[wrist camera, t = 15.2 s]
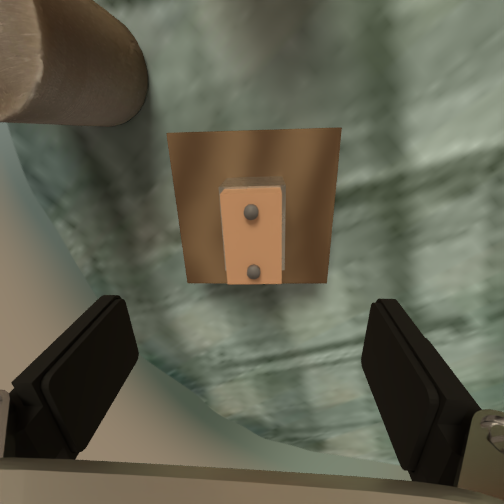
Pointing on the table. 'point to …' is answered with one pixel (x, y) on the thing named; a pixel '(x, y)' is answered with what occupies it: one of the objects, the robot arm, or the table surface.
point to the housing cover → (252, 235)
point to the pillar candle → (68, 64)
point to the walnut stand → (256, 165)
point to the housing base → (258, 183)
